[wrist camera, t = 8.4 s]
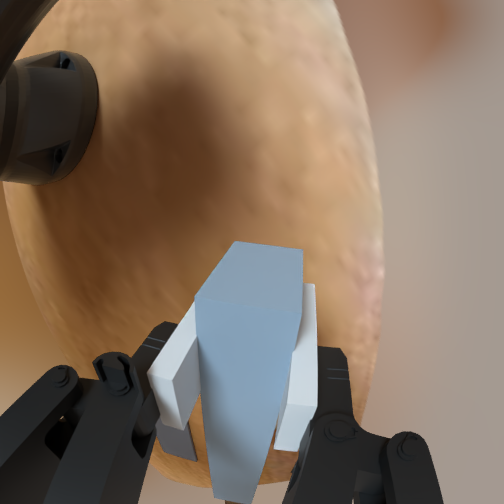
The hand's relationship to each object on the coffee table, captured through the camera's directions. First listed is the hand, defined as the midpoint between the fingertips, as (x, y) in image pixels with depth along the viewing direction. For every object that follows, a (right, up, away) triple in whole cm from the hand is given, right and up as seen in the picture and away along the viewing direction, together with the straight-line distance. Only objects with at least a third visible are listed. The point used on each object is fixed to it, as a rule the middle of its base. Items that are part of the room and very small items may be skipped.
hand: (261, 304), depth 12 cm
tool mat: (-14, -30, +26) cm, 42 cm away
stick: (0, -7, +3) cm, 7 cm away
